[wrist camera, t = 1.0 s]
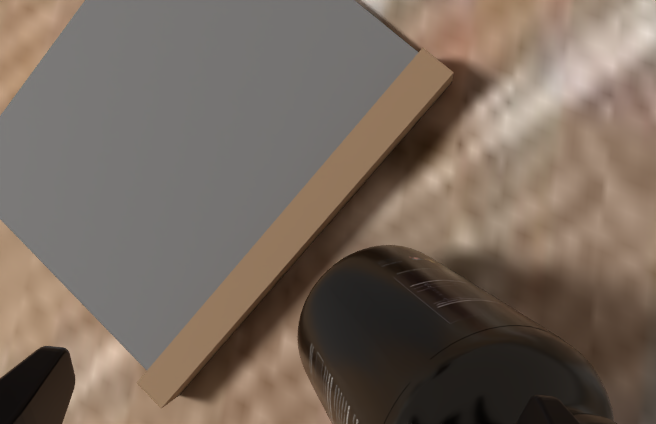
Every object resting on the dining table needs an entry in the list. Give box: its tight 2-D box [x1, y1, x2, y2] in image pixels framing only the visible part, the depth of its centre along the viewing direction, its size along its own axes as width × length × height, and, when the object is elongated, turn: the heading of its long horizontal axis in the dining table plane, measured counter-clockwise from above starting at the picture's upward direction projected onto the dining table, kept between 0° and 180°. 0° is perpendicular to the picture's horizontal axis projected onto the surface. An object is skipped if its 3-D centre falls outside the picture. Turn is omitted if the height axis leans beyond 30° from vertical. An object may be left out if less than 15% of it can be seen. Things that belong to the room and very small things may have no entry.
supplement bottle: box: [298, 245, 617, 424], centre depth 15 cm, size 7×7×12 cm
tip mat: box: [0, 0, 453, 408], centre depth 24 cm, size 16×19×2 cm
